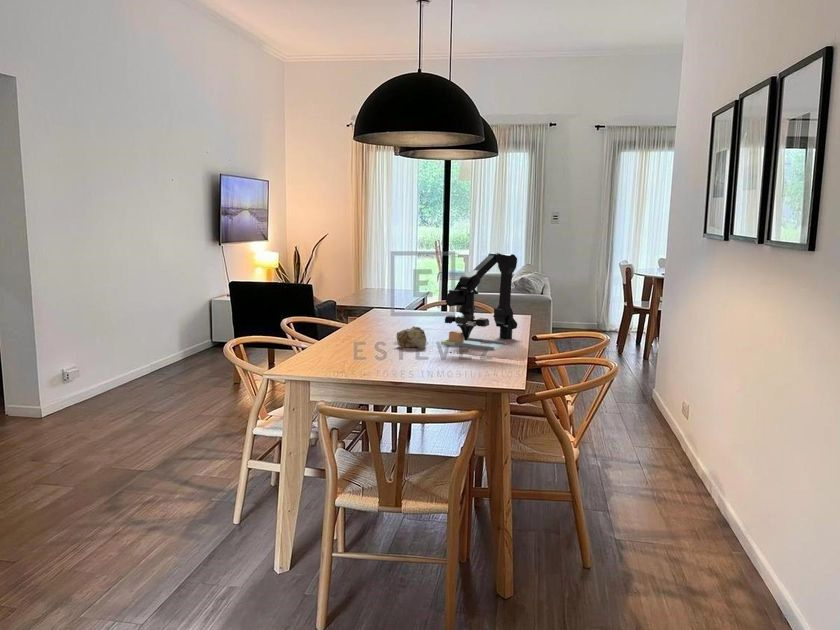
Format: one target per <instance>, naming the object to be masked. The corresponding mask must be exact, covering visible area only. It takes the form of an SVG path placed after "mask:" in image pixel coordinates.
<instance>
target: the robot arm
mask: <svg viewBox="0 0 840 630" xmlns="http://www.w3.org/2000/svg"><path fill="white" fill-rule="evenodd" d="M496 264H497V268H498V270H499V272H500V284H499V285H500V286H499V297H498V299H499V301H498V306H497V308H494V309H493V319H494V323H495V327H498V328H499V339H503V340H515V338H513V330H515V329H517V328H518V322H517V321H516V319H514V312H513V309H512V307H511V297H512V281H513V274H514V272H515V270H516V269H517V265H518V258H517V256H516V255H515V254H512V253H499V252H490V253H488V254H487V256H486V257H485V258H484V259H483V260H482V261H481V262H480V263H479V264H478V265H477V266H476V267H475V268H474V269H473V270H471V271H468V272H466V273H465V274H463V275H461V276H460V277H459V280H458V282H457V284H456V286H455V287H454V289H449V290H448V291H449V292H448V293H447V294H446V295H445V298H444V299H445V303H446V305H447V306H448V307H458V306H459V309H458V312H457V313H456V314H455V315H447V316H446V317H444V324H453V322H454V323H455V324H456V326H457V327H459V328H460V331H462V332H463V336H464V339H465V341H467V340H468V338H469V337H470V335H471V333H472V331H473V329H474V328H475V327H482V328H485V327H488V326H490V320H489V318H483V317H479V318H477V319H475V312H474V311H475V310H476V307H475V295H478V294H479V292H478V291H477V290H476V289H477V287H478V286H479V284H480V283H481V280H482V278H483V277H484V276H485V275H486V274H487V273H488V272H489V271H490V270H491V269H492V268H493V267H494V266H495V265H496Z"/></svg>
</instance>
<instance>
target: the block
mask: <svg viewBox="0 0 840 630" xmlns="http://www.w3.org/2000/svg"><path fill="white" fill-rule="evenodd" d="M448 338H449V342H456V343H462V342H464V336H463V332H462V330H460V331H459V330H451V331H449V332H448Z"/></svg>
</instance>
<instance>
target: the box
mask: <svg viewBox="0 0 840 630" xmlns="http://www.w3.org/2000/svg"><path fill="white" fill-rule="evenodd" d="M486 343H487V344H486ZM488 343H490V344H488ZM440 345H449V346H457V347H464V348H471V349H473V348H474V349H482V350H489V351H495V350H497V349H498V348H501V347H502V346H504V345H506V341H505V340H504V341H503V340H493V339H485V338H478V337H477V338H476V337H470V336H469V338H468V340H467V341H465V339H464V342H462V343H456V342H449V337H448V338H446V339H443V340H441V341H440Z"/></svg>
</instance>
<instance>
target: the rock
mask: <svg viewBox="0 0 840 630" xmlns="http://www.w3.org/2000/svg"><path fill="white" fill-rule="evenodd" d="M396 341H397V345H398V347H402V348H418V349H423V350H424V349H426V348H427V345H426V342H427V336H426V333H425V330H424V329H422V328H421V327H418V326H412V327H411V328H406V329H403V330H400V331H398V332H396Z"/></svg>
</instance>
